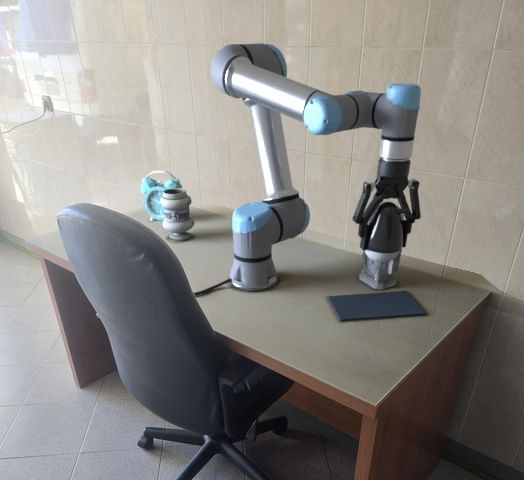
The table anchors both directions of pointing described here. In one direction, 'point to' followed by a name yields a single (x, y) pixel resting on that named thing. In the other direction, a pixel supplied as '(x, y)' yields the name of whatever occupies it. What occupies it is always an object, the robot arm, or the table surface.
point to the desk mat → (375, 306)
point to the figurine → (380, 270)
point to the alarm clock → (156, 194)
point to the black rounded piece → (385, 232)
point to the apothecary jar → (177, 214)
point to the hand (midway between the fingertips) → (382, 247)
